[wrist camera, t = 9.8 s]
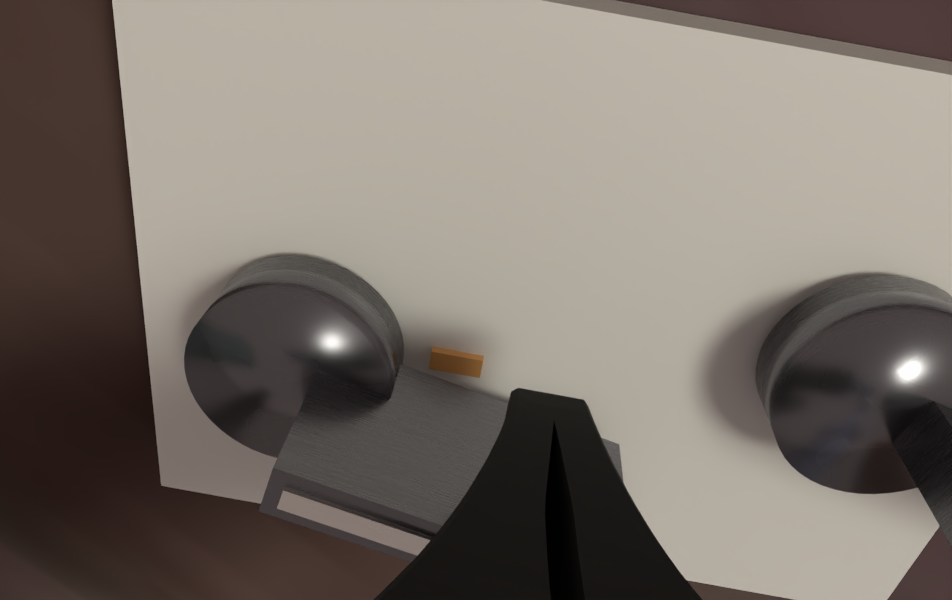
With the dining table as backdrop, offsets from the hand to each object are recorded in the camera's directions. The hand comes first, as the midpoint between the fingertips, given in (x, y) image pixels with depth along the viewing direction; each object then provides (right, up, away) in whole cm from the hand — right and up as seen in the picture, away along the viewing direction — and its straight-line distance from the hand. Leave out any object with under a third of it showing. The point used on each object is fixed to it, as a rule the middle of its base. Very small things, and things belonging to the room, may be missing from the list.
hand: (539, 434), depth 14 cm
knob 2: (-3, +1, +4) cm, 4 cm away
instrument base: (+1, +2, +4) cm, 5 cm away
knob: (+10, 0, +2) cm, 10 cm away
